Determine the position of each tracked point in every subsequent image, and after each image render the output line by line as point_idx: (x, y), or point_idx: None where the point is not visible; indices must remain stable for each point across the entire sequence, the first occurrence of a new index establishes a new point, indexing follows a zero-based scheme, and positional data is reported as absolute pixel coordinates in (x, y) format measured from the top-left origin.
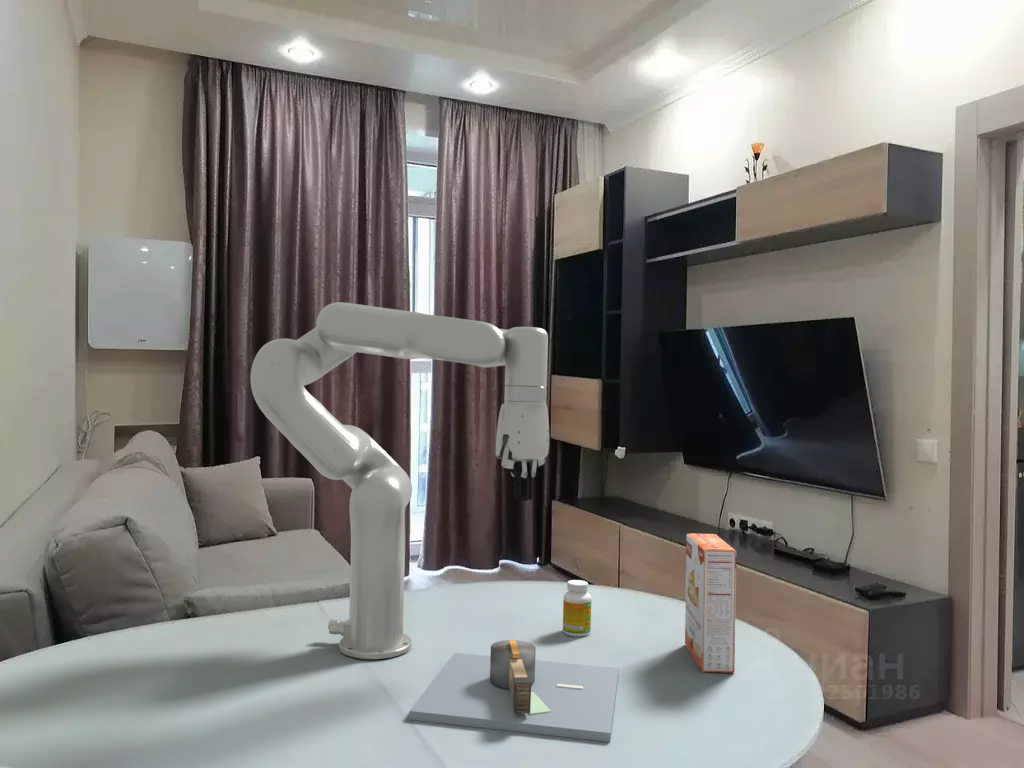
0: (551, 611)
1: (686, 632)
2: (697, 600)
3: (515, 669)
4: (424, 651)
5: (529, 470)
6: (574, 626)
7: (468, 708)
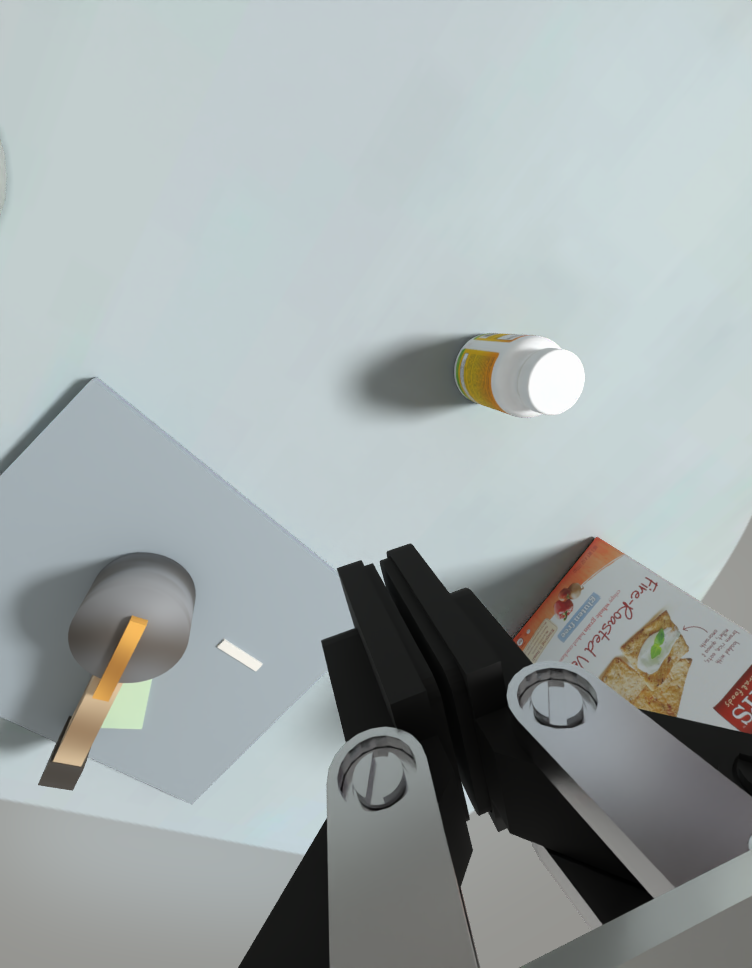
0: (554, 178)
1: (602, 562)
2: None
3: (77, 724)
4: (35, 271)
5: (576, 849)
6: (469, 395)
7: None
